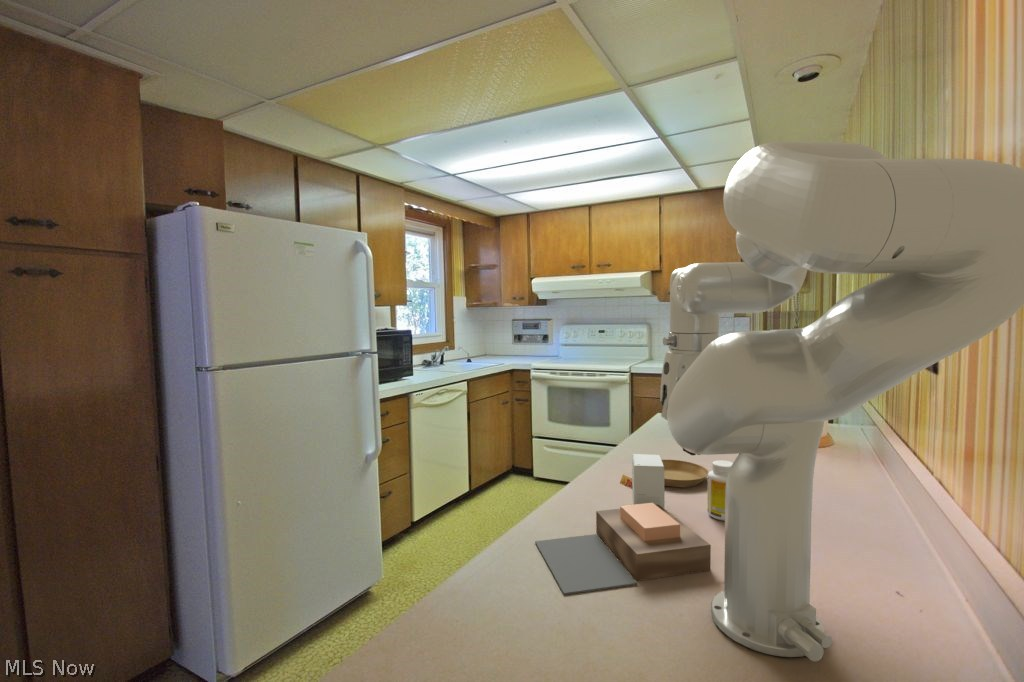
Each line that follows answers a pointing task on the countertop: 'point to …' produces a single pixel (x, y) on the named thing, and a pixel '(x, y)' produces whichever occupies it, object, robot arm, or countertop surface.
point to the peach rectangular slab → (650, 521)
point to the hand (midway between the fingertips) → (691, 452)
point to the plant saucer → (683, 473)
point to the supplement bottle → (717, 488)
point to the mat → (583, 564)
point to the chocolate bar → (626, 481)
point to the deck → (653, 548)
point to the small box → (648, 479)
